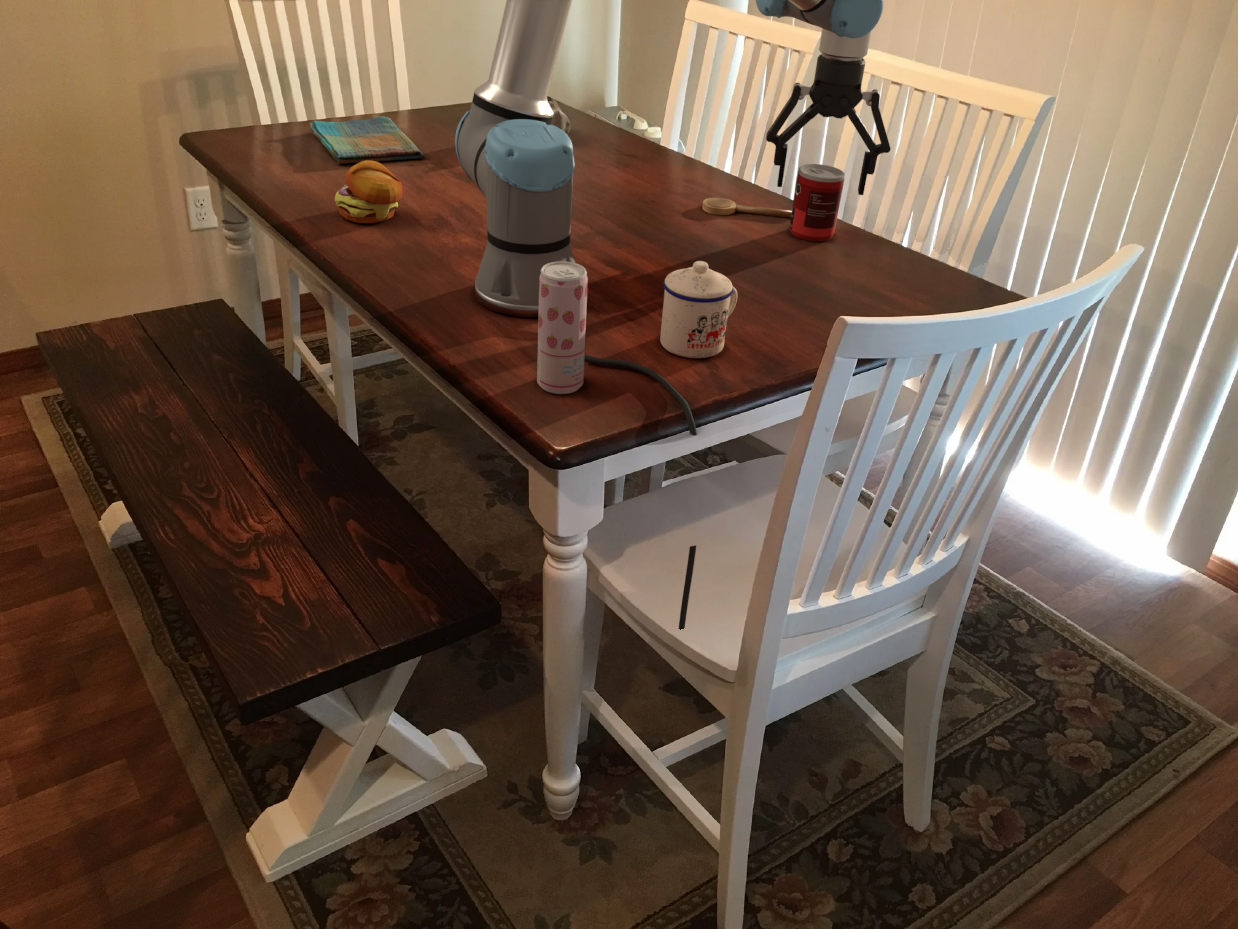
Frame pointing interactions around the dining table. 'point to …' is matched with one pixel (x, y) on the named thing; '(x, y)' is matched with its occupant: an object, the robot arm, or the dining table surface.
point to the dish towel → (365, 140)
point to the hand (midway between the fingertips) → (819, 188)
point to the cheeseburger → (368, 193)
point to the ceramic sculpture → (559, 116)
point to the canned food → (816, 202)
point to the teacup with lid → (696, 311)
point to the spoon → (738, 208)
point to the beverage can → (561, 327)
